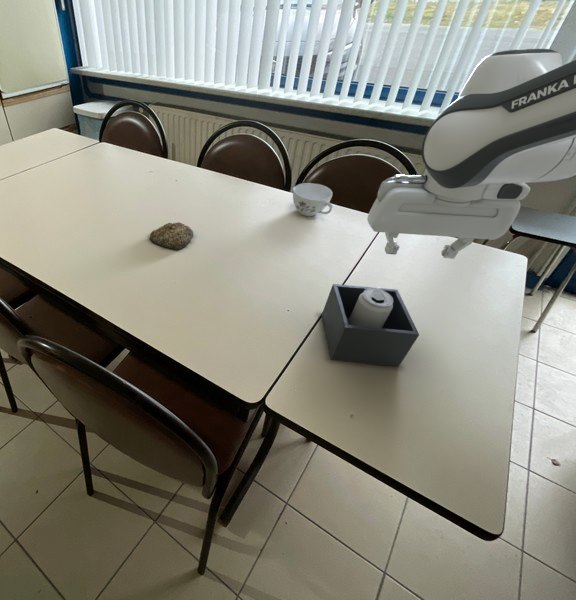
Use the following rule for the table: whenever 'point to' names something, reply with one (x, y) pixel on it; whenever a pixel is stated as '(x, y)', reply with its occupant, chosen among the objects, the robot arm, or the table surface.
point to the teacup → (312, 198)
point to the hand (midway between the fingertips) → (418, 254)
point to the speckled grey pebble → (172, 235)
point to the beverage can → (371, 308)
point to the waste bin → (366, 329)
